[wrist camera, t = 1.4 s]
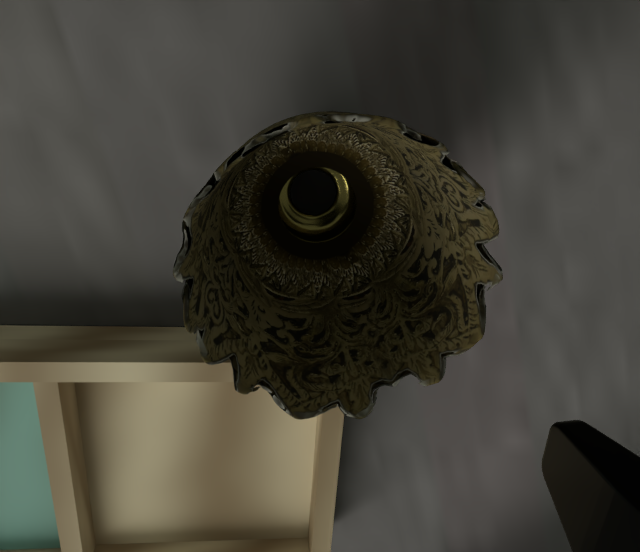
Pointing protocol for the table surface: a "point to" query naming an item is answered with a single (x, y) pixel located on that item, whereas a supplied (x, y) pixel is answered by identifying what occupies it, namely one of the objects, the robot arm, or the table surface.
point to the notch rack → (152, 449)
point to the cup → (337, 263)
